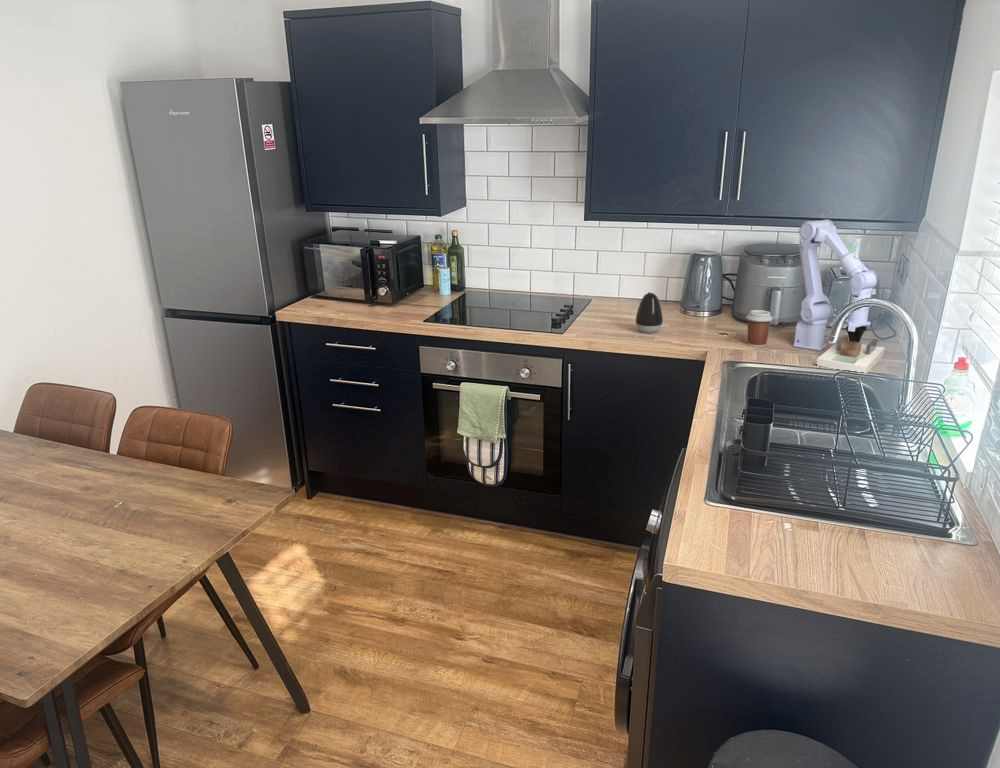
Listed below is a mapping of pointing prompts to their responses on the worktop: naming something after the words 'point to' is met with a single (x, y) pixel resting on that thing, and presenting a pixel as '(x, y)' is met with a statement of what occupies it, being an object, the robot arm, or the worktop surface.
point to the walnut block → (850, 349)
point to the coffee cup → (758, 327)
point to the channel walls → (869, 348)
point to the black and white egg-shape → (649, 314)
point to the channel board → (850, 359)
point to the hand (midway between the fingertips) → (853, 347)
